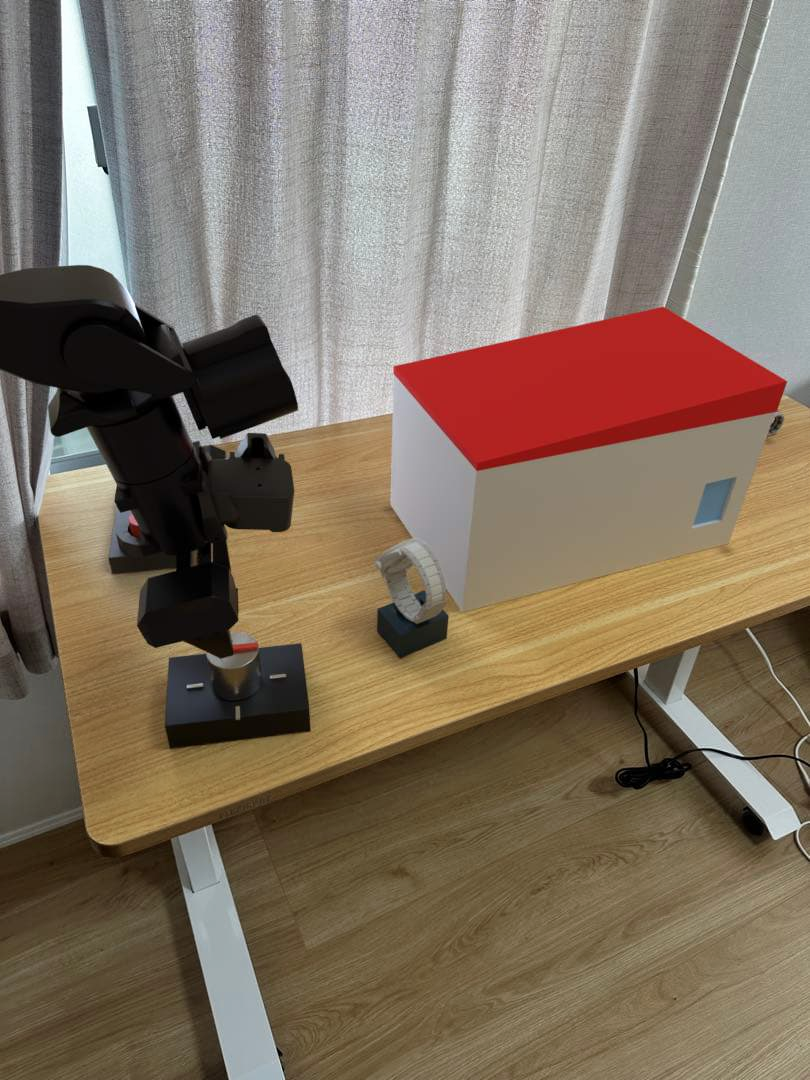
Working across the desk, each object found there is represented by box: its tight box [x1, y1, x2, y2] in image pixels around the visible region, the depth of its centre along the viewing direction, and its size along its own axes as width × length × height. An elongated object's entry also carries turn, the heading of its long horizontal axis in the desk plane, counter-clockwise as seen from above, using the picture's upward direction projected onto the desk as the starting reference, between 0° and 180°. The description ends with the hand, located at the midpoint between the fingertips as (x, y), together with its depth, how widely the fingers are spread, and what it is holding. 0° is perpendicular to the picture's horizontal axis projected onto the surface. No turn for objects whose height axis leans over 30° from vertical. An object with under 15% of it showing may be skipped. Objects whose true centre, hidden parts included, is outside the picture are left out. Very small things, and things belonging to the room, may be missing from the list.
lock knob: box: [205, 631, 262, 701], centre depth 70 cm, size 4×4×4 cm
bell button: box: [128, 514, 140, 538], centre depth 86 cm, size 3×3×2 cm
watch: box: [374, 538, 450, 659], centre depth 77 cm, size 6×8×11 cm
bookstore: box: [389, 306, 788, 613], centre depth 90 cm, size 21×35×21 cm, turn 112°
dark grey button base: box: [107, 506, 177, 575], centre depth 92 cm, size 16×8×4 cm, turn 11°
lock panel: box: [164, 642, 312, 750], centre depth 72 cm, size 12×9×3 cm
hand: (226, 612), depth 65 cm, fingers open, 9 cm apart
